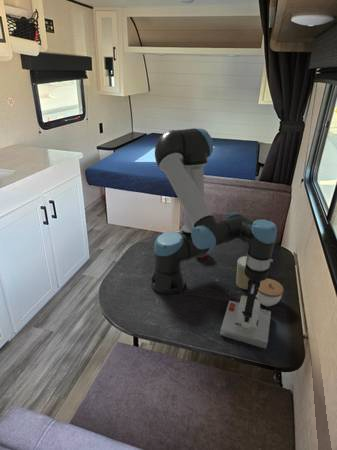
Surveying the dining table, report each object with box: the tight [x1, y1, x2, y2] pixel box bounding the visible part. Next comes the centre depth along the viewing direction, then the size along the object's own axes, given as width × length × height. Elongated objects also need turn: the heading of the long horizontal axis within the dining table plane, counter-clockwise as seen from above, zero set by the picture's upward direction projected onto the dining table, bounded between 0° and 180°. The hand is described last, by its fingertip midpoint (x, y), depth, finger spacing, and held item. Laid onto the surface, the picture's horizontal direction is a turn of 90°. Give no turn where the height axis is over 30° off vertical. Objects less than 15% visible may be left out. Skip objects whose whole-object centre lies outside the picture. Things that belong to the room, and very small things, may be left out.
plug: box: [236, 295, 262, 328], centre depth 108 cm, size 7×6×11 cm
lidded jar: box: [255, 277, 285, 307], centre depth 121 cm, size 11×11×9 cm
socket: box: [219, 300, 272, 350], centre depth 110 cm, size 16×16×4 cm
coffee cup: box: [235, 255, 249, 290], centre depth 130 cm, size 9×9×12 cm
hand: (248, 313), depth 108 cm, fingers open, 13 cm apart
